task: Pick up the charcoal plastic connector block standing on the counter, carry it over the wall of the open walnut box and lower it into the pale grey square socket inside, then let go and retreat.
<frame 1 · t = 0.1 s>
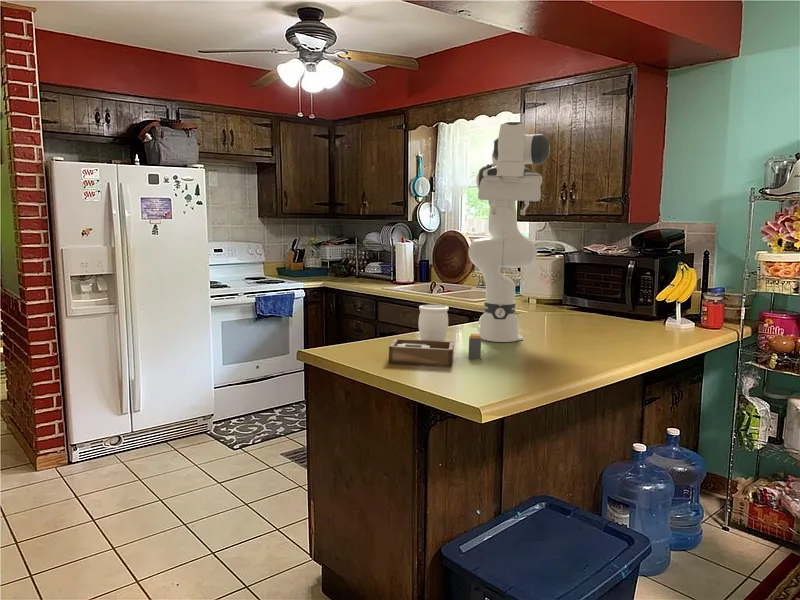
hand: (508, 214, 199), 48 cm above the table, tool pointing down, fingers open, 8 cm apart
connector: (474, 357, 204), on the table
jar: (432, 348, 217), on the table
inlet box: (421, 360, 198), on the table
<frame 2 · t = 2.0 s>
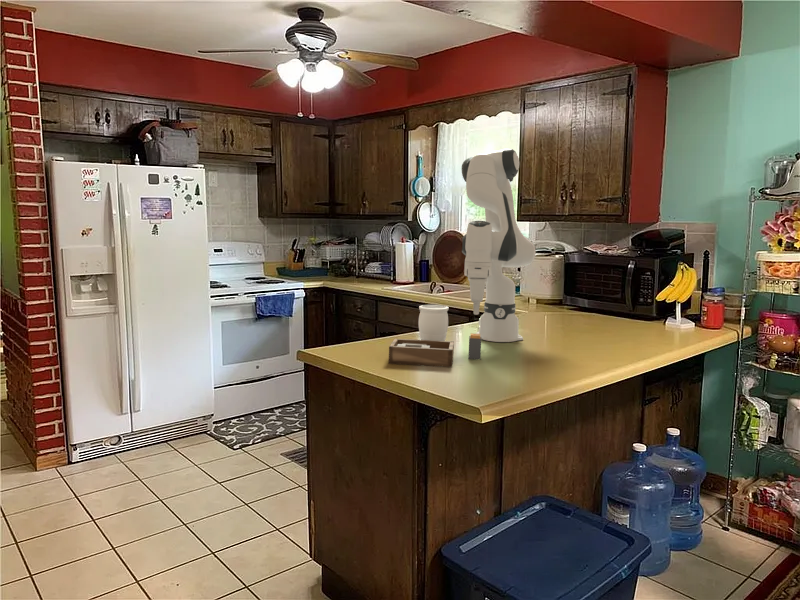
hand: (476, 312, 201), 16 cm above the table, tool pointing down, fingers open, 8 cm apart
nothing on the table moved.
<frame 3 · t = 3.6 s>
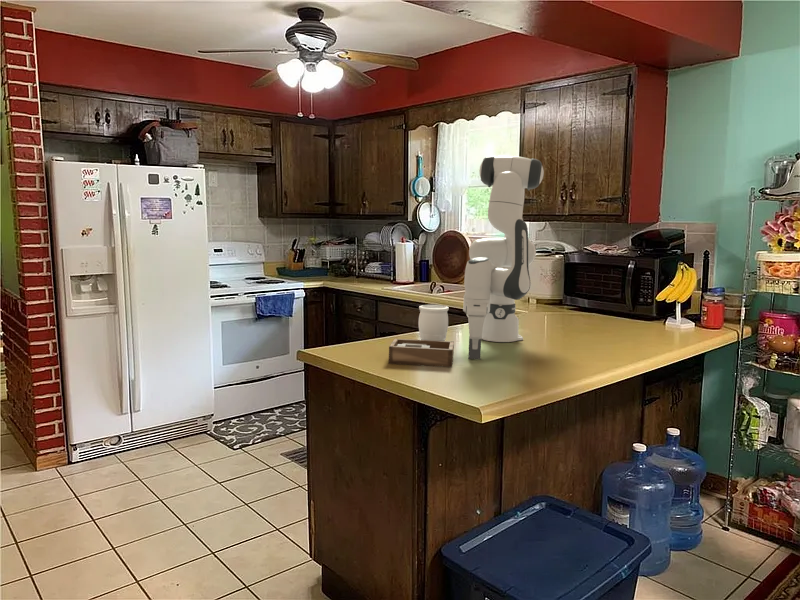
hand: (474, 347, 203), 4 cm above the table, tool pointing down, fingers closed on connector, 4 cm apart
connector: (474, 357, 204), on the table, touching gripper
everything else where it was.
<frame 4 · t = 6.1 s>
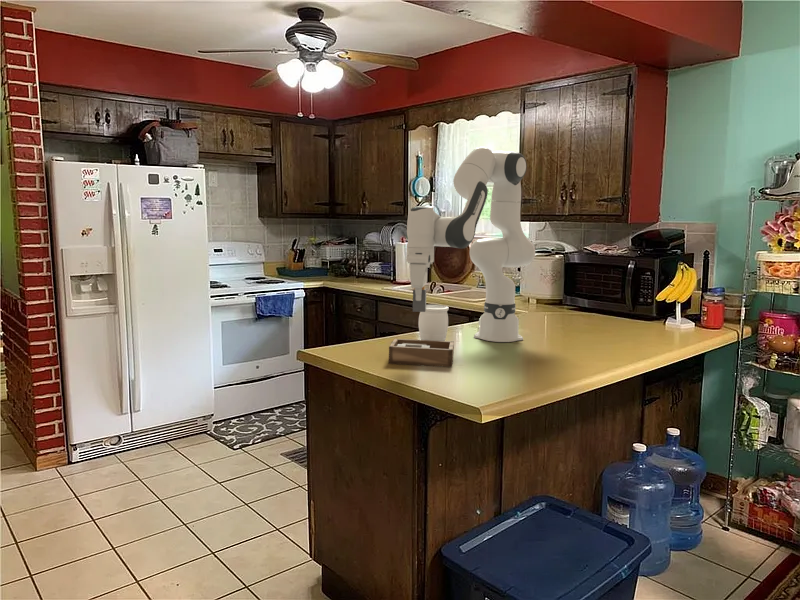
hand: (419, 299, 195), 20 cm above the table, tool pointing down, fingers closed on connector, 4 cm apart
connector: (419, 310, 196), point 16 cm above the table, touching gripper
everything else where it was.
when the fingers open (6 cm above the table, at t = 8.5 s): connector drops 1 cm, resting on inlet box.
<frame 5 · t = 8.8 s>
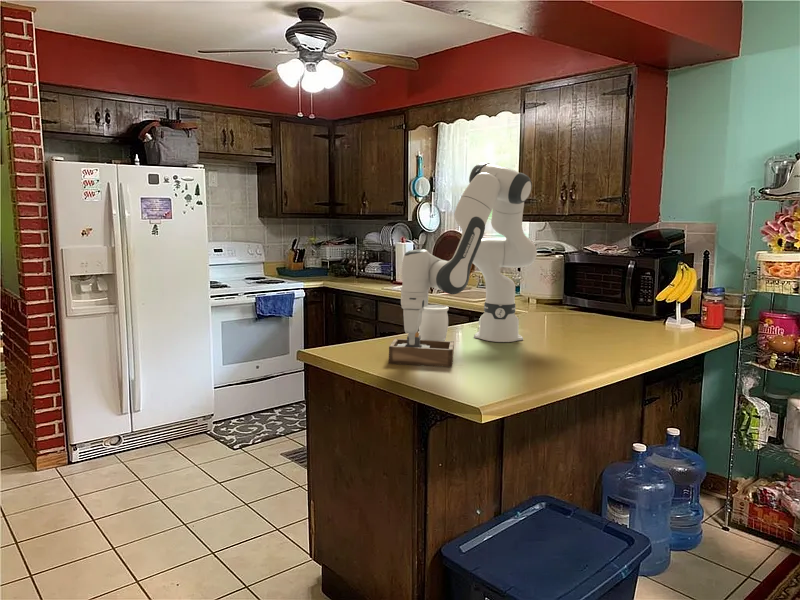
hand: (413, 341, 197), 6 cm above the table, tool pointing down, fingers open, 7 cm apart
connector: (413, 357, 198), point 1 cm above the table, touching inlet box
everything else where it was.
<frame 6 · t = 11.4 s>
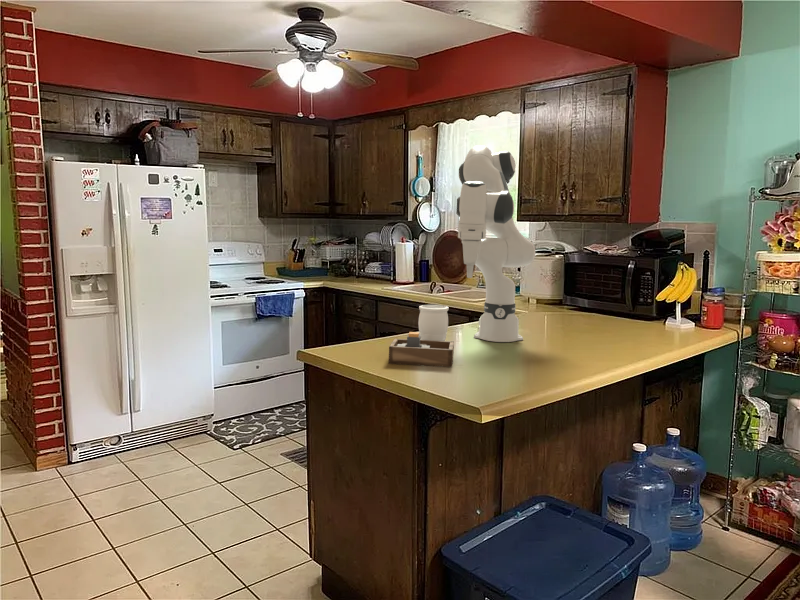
hand: (469, 275, 196), 28 cm above the table, tool pointing down, fingers open, 8 cm apart
nothing on the table moved.
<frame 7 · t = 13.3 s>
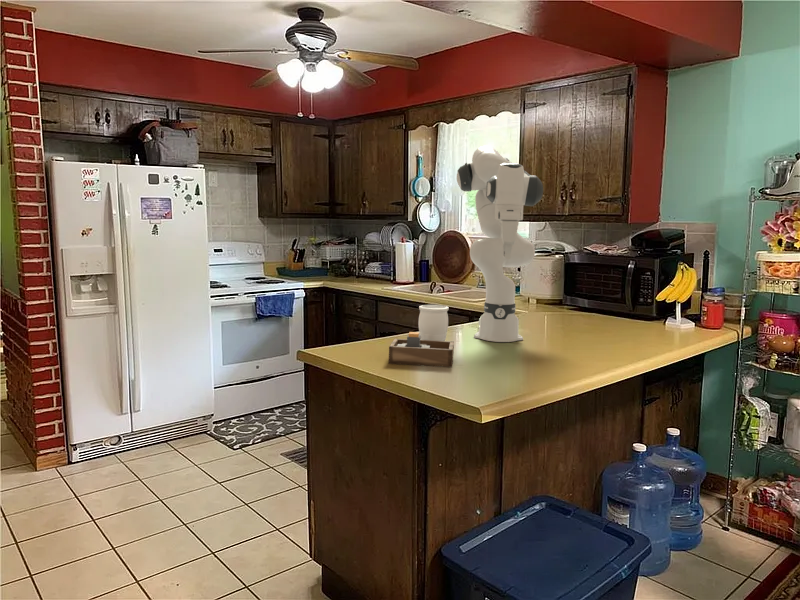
hand: (506, 257, 196), 34 cm above the table, tool pointing down, fingers open, 8 cm apart
nothing on the table moved.
at the end: connector 0.2 cm from the target spot on the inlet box, point 1.0 cm above the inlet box's base; connector tilted 0°; the gripper is holding nothing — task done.
